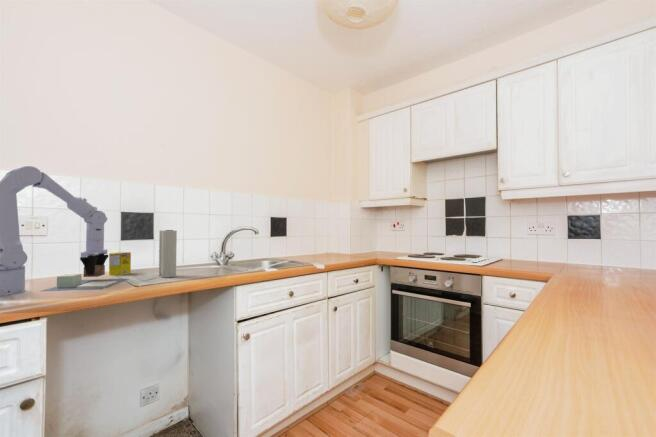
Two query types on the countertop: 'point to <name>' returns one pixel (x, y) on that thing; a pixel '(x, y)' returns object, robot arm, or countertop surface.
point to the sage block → (68, 280)
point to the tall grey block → (167, 253)
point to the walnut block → (96, 271)
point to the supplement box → (120, 263)
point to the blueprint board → (90, 285)
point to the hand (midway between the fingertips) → (94, 273)
